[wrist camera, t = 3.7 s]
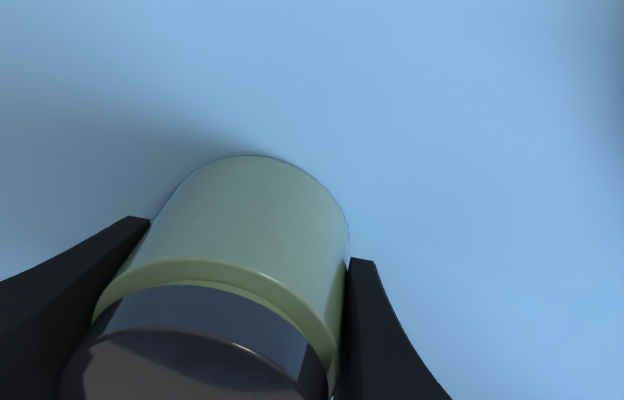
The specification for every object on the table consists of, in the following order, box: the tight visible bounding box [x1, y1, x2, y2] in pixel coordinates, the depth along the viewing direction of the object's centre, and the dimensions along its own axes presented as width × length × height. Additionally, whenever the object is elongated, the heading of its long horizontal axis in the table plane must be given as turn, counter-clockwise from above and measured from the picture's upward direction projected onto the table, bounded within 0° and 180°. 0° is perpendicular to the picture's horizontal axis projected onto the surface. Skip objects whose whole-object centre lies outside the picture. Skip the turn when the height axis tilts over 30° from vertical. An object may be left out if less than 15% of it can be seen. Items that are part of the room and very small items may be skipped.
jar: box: [58, 156, 350, 400], centre depth 12 cm, size 6×6×6 cm
